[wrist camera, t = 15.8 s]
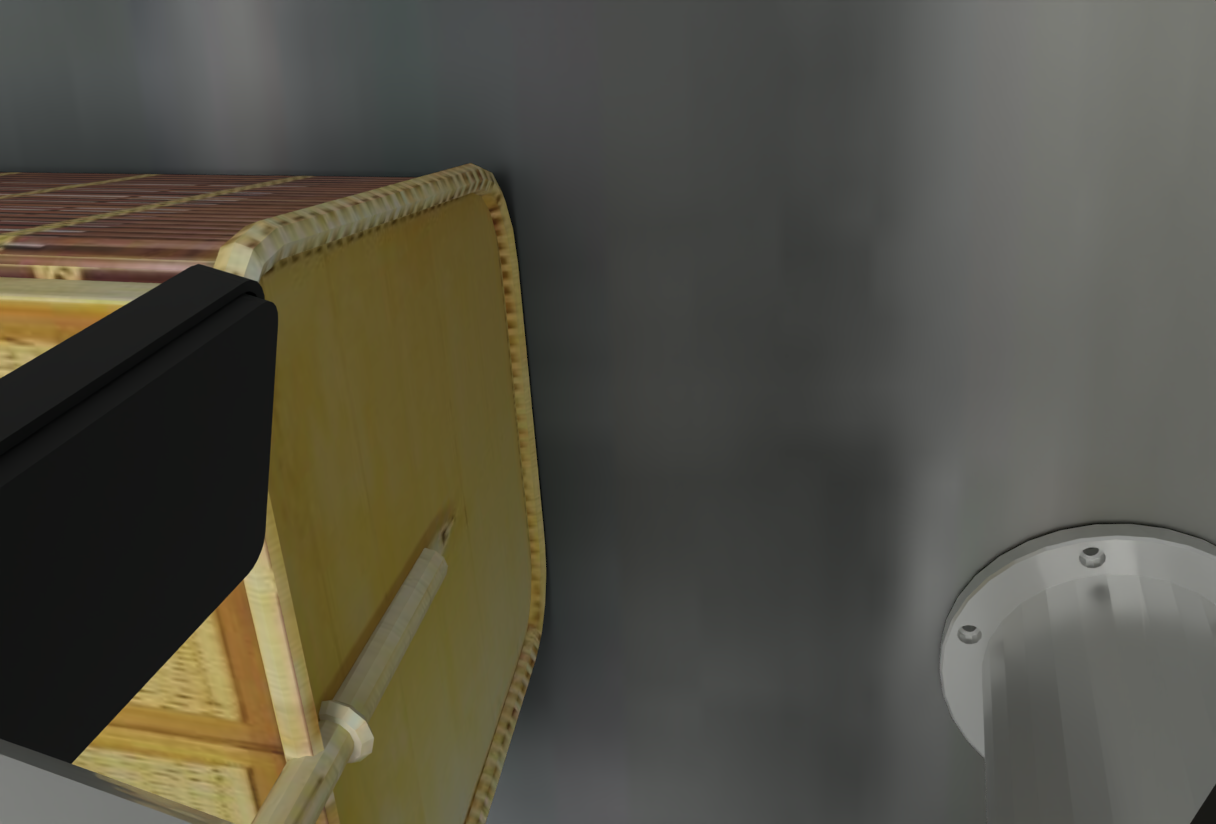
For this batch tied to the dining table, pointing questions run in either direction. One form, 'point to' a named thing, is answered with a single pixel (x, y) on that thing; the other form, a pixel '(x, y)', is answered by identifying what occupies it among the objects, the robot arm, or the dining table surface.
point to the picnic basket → (330, 485)
